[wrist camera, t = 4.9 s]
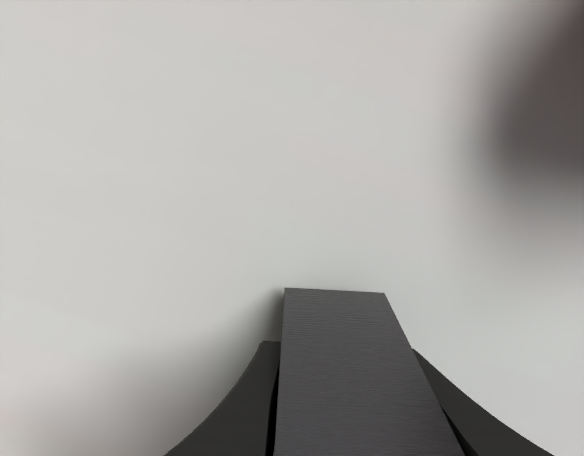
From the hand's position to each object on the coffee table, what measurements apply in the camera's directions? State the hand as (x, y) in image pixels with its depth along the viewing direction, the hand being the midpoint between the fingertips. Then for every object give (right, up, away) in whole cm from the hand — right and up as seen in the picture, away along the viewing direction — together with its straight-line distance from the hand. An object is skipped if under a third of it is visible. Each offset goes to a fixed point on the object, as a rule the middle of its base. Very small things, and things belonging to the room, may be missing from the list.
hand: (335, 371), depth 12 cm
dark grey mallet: (0, -5, +4) cm, 7 cm away
